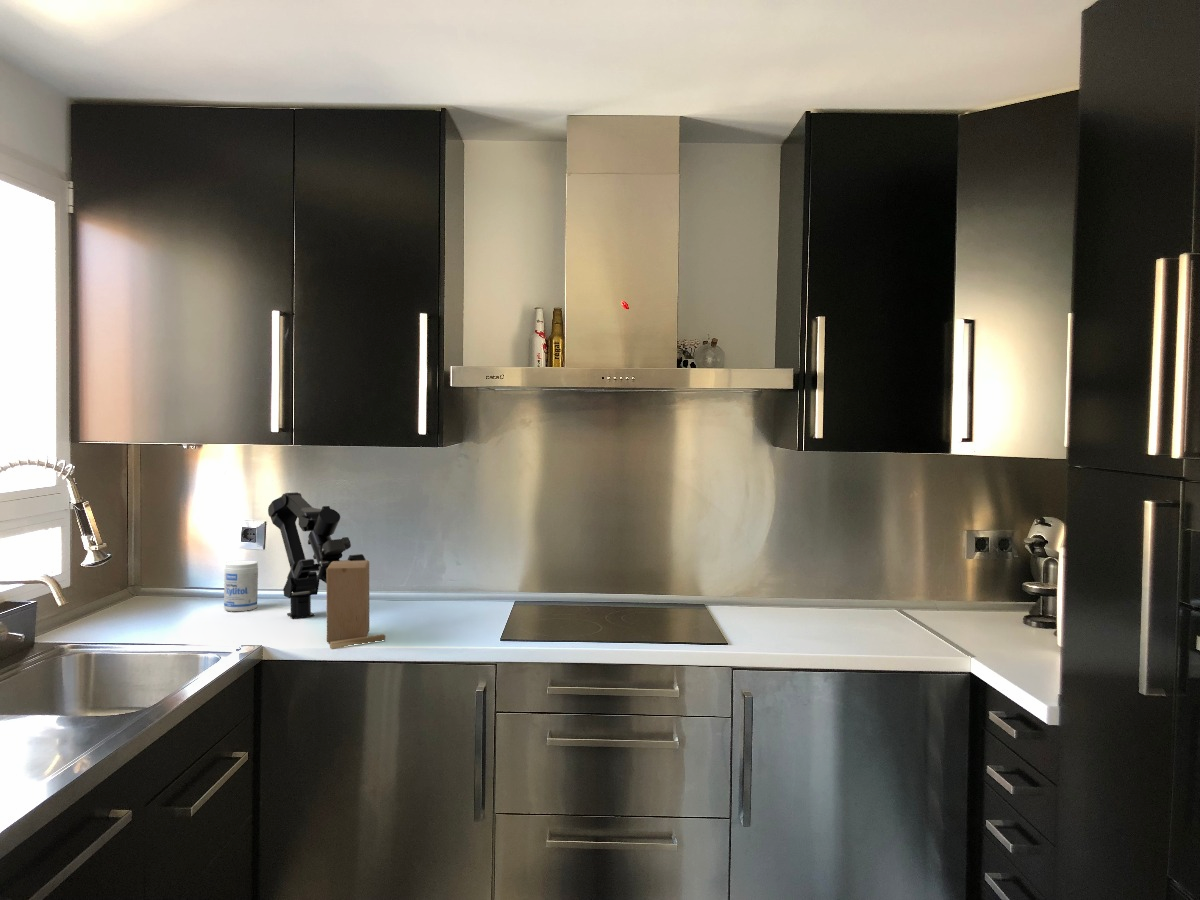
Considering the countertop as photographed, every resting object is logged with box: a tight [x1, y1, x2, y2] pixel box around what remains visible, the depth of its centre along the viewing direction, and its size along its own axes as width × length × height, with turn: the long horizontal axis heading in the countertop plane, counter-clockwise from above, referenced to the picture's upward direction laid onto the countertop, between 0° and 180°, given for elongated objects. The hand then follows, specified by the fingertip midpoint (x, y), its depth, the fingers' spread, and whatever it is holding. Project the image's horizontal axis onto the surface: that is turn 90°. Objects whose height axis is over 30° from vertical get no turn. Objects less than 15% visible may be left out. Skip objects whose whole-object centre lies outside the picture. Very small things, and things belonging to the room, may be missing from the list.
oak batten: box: [329, 633, 386, 650], centre depth 203 cm, size 2×14×2 cm, turn 125°
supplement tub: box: [223, 560, 259, 612], centre depth 243 cm, size 10×10×15 cm
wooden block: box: [326, 559, 370, 643], centre depth 208 cm, size 10×10×20 cm
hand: (339, 590), depth 213 cm, fingers closed
